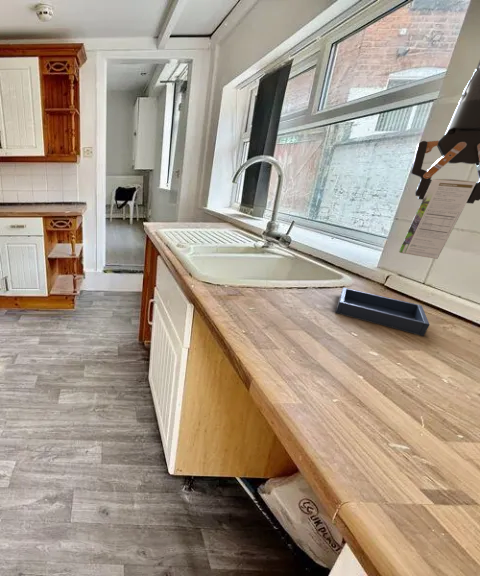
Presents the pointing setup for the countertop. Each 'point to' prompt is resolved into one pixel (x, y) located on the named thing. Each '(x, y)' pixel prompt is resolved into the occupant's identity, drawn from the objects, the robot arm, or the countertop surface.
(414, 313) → the tray
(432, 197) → the syrup box
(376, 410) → the countertop surface
